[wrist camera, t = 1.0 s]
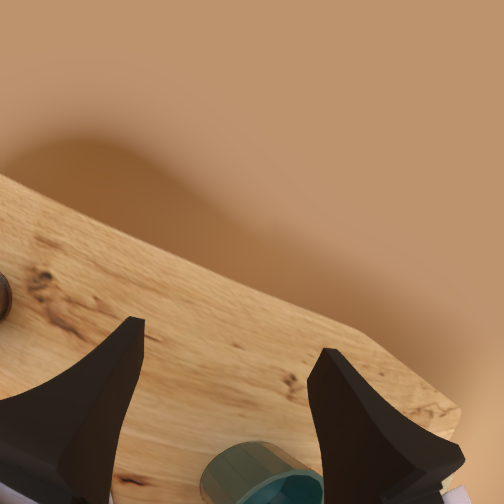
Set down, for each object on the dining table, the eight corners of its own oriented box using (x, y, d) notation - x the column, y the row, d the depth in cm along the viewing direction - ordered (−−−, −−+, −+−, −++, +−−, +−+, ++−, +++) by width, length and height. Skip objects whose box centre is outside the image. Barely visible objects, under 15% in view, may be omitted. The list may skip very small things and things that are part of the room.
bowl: (202, 520, 21) (228, 558, 15) (197, 448, 23) (225, 486, 16) (285, 500, 25) (320, 528, 19) (290, 433, 27) (333, 456, 21)
